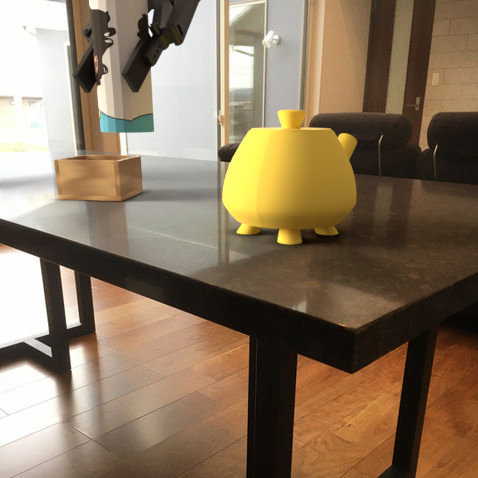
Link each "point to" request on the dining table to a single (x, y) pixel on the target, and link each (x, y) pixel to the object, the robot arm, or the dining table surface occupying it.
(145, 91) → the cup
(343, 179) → the teapot
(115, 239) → the dining table surface
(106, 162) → the box
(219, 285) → the dining table surface
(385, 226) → the dining table surface
